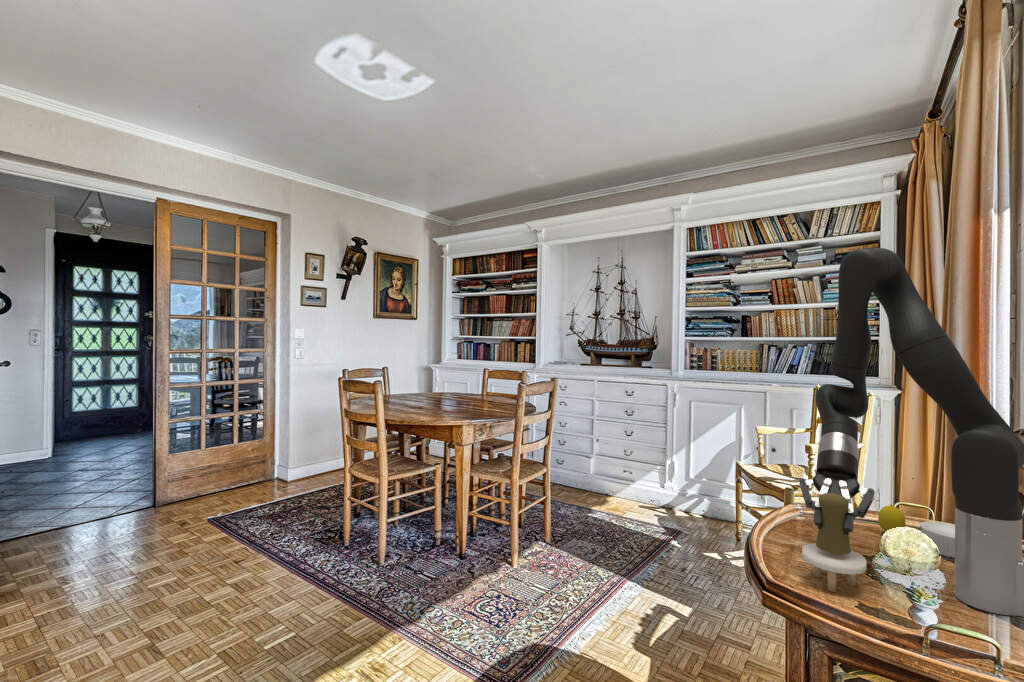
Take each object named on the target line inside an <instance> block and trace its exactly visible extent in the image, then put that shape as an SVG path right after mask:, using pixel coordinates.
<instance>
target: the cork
mask: <svg viewBox="0 0 1024 682" xmlns="http://www.w3.org/2000/svg"><path fill="white" fill-rule="evenodd" d="M819 506H820V507H821V509H822V528H821V529H818V528H817V529H818V531H817V535H816V542H815V543H816V546H817V547H818V548H819V549H821V550H823V551H826V552H829V553H833V554H839V555H846V554H850V553H851V550H852V548H851V541H850V536H849V535H847V534H844V523H845V513H846V512H847V511H848V508H849V502H848V500H847V499H846V498H845V497H844V496H842V495H839V494H834V493H824V494H821V496H820V497H819Z"/></svg>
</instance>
